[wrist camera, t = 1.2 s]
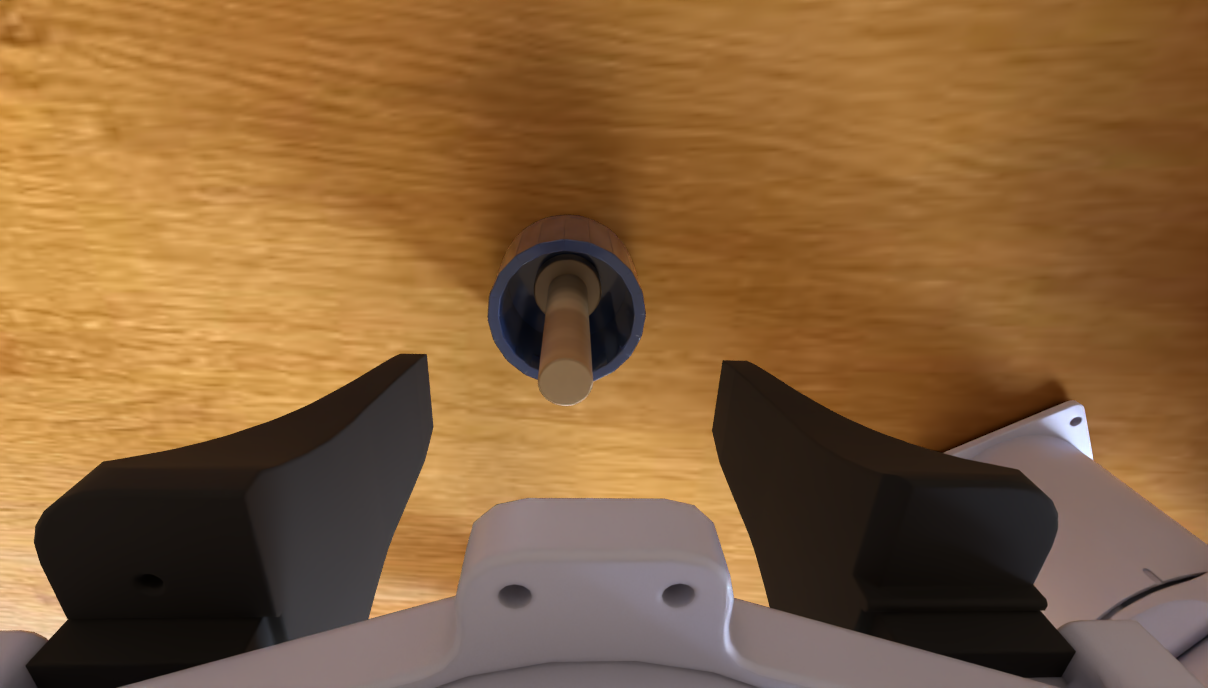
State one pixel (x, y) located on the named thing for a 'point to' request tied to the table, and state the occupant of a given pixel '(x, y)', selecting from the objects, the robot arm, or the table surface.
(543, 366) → the beige capped rod
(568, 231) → the cup
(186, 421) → the table surface
